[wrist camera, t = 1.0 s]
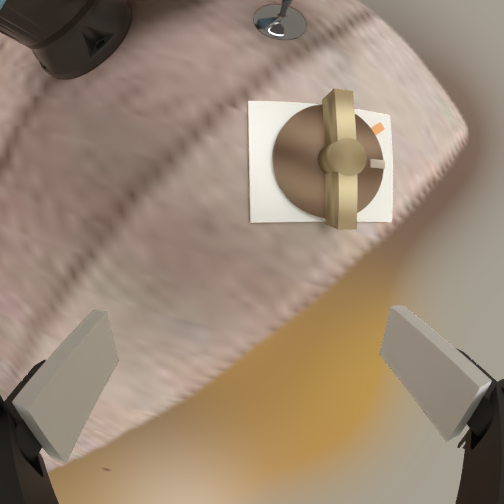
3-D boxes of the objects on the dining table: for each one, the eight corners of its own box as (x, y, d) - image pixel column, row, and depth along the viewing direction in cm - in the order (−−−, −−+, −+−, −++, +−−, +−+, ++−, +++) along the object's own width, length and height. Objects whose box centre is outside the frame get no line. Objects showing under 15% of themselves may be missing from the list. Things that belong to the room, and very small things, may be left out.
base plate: (247, 104, 29) (248, 99, 26) (384, 117, 30) (392, 114, 28) (249, 221, 32) (250, 223, 30) (386, 220, 33) (394, 222, 31)
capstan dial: (270, 100, 27) (279, 81, 21) (374, 111, 28) (400, 99, 22) (273, 222, 30) (282, 231, 24) (376, 222, 31) (403, 229, 25)
